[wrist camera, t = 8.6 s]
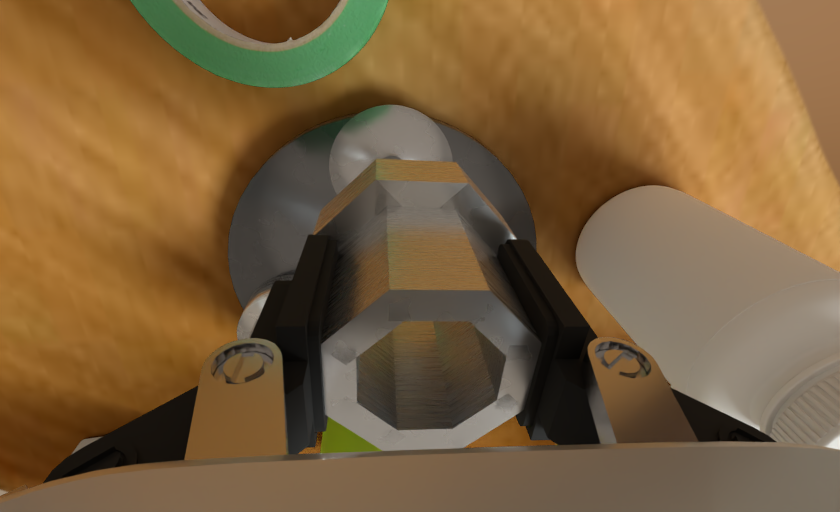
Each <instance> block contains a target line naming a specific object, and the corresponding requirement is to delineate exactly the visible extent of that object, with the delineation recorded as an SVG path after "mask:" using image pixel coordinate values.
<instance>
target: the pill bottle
mask: <svg viewBox="0 0 840 512" xmlns="http://www.w3.org/2000/svg"><path fill="white" fill-rule="evenodd" d="M576 264H577V268H578V271H579V274H580V276H581V278H582V279H583V281H584V282H585V284H586V286H587V287H588V288H589V289H590V290H591V292H592V293H593V294H594V295H595V296H596V297H597V299H598V300H599V301H600V302H601V303H602V304H603V306H604V307H605V308H606V309H607V310H608V312H609V313H610V314H611V315H612V316H613V317H614V319H615V320H616V321H617V322H618V323H619V324H620V326H621V327H622V328H623V329H624V330H625V331H626V333H627V334H628V335H629V336H630V337H631V338H632V340H633V341H634V342H635V343H636V344H637V345H638V346H639V347H640V348H642V349H644V350H645V351H646V352H647V353H649V354H650V355H651V356H652V357H653V358H654V360H655V361H656V362H657V364H658V366H659V368H660V369H661V371H662V373H663V375H664V377H665V378H666V379H667V381H668V382H669V383H670V384H671V385H672V387H673V388H674V389H675V390H677V391H679V392H681V393H683V394H685V395H687V396H689V397H692V398H694V399H696V400H698V401H700V402H702V403H704V404H706V405H708V406H710V407H712V408H714V409H717V410H719V411H721V412H723V413H725V414H727V415H729V416H731V417H733V418H735V419H737V420H739V421H742V422H744V423H746V424H748V425H750V426H752V427H754V428H756V429H758V430H759V431H761V432H763V433H765V434H766V435H768V436H770V437H771V438H772V439H774V440H775V441H776V442H784V443H795V444H806V445H817V446H823V447H828V448H834V449H839V450H840V272H838V271H836V270H834V269H832V268H830V267H828V266H826V265H824V264H822V263H820V262H818V261H816V260H815V259H813V258H811V257H809V256H807V255H805V254H803V253H801V252H799V251H797V250H795V249H793V248H791V247H789V246H787V245H785V244H783V243H781V242H779V241H778V240H776V239H774V238H772V237H770V236H768V235H766V234H764V233H762V232H760V231H758V230H756V229H754V228H752V227H750V226H748V225H746V224H744V223H742V222H741V221H739V220H737V219H735V218H733V217H731V216H729V215H727V214H725V213H723V212H721V211H719V210H717V209H715V208H713V207H711V206H709V205H707V204H705V203H704V202H702V201H700V200H698V199H696V198H694V197H692V196H690V195H688V194H686V193H684V192H682V191H679V190H676V189H673V188H670V187H666V186H658V185H649V186H641V187H637V188H633V189H630V190H627V191H625V192H622V193H620V194H618V195H616V196H615V197H613V198H611V199H610V200H609V201H607V202H606V203H605V204H603V205H602V206H601V207H600V208H599V209H598V210H597V211H596V212H595V213H594V214H593V215H592V216H591V217H590V219H589V220H588V222H587V223H586V225H585V226H584V228H583V230H582V232H581V234H580V236H579V239H578V243H577V247H576Z"/></svg>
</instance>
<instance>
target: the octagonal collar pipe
mask: <svg viewBox="0 0 840 512" xmlns="http://www.w3.org/2000/svg"><path fill="white" fill-rule="evenodd" d="M313 235H330V240H337V242H338V257H337V262H336V268H335V273H334V278H333V283H332V288H331V294H330V299H329V304H328V309H327V315H326V320H325V325H324V330H323V335H322V341H321V357H322V373H323V389H324V405H325V415H327V416H328V417H330V418H331V419H333V420H335V421H336V422H338V423H339V424H341V425H342V426H344V427H346V428H347V429H349V430H350V431H352V432H354V433H355V434H357V435H358V436H360V437H361V438H363V439H365V440H366V441H368V442H369V443H371V444H373V445H374V446H376V447H377V448H379V449H380V450H382V451H394V450H422V449H452V448H464V447H465V446H467V445H469V444H470V443H472V442H473V441H475V440H477V439H478V438H480V437H481V436H483V435H485V434H486V433H488V432H489V431H491V430H493V429H494V428H496V427H497V426H499V425H501V424H502V423H504V422H505V421H507V420H509V419H510V418H512V417H513V416H515V415H517V414H518V413H520V412H521V411H523V410H524V407H525V404H526V400H527V396H528V392H529V389H530V385H531V381H532V378H533V374H534V370H535V366H536V363H537V359H538V355H539V352H540V348H541V344H542V343H541V341H540V339H539V337H538V336H537V334H536V332H535V330H534V328H533V326H532V324H531V322H530V320H529V318H528V316H527V314H526V312H525V311H524V309H523V307H522V305H521V303H520V301H519V299H518V297H517V295H516V293H515V291H514V289H513V287H512V286H511V284H510V282H509V280H508V278H507V276H506V274H505V272H504V270H503V268H502V266H501V264H500V262H499V261H498V259H497V253H498V248H499V245H500V244H505V242H506V241H507V239H517V238H516V237H515V235H514V234H513V232H512V231H511V229H510V228H509V226H508V225H507V223H506V222H505V220H504V219H503V217H502V216H501V214H500V213H499V212H498V211H497V210H496V208H495V207H494V206H493V205H492V204H491V203H490V201H489V200H488V199H487V198H486V197H485V196H484V194H483V193H482V192H481V191H480V190H479V188H478V187H477V186H476V185H475V184H474V183H473V181H472V180H471V179H470V178H469V177H468V175H467V174H466V173H465V172H464V171H463V170H462V168H461V167H460V166H459V165H458V164H457V163H456V162H443V161H420V160H397V159H375V160H374V161H373V162H372V163H371V164H370V165H369V166H368V167H367V168H366V169H365V170H364V171H363V172H361V173H360V174H359V175H358V176H357V177H356V178H355V179H354V180H353V181H352V182H351V183H350V184H349V185H347V186H346V187H345V188H344V189H343V190H342V191H341V192H340V193H339V194H338V195H337V196H336V197H334V198H333V199H332V200H331V201H330V202H329V203H328V204H327V205H326V206H325V207H324V208H323V209H322V210H321V211H320V214H319V217H318V220H317V223H316V226H315V229H314V232H313Z"/></svg>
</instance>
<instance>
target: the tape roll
mask: <svg viewBox="0 0 840 512" xmlns="http://www.w3.org/2000/svg"><path fill="white" fill-rule="evenodd" d="M130 1H131V2H132V4H133V5H134V6H135V8H136V9H137V11H138V12H139V13H140V14H141V15H142V17H143V18H144V19H145V20H146V21H147V23H148V24H149V25H150V26H151V27H152V28H153V29H154V30H155V31H156V32H157V33H158V34H159V35H160V36H161V37H162V38H163V39H164V40H165V41H166V42H167V43H168V44H170V45H171V46H172V47H173V48H174V49H176V50H177V51H178V52H179V53H181V54H182V55H183V56H185V57H186V58H188V59H189V60H191V61H192V62H194V63H195V64H197V65H199V66H200V67H202V68H204V69H206V70H208V71H210V72H212V73H213V74H215V75H217V76H220V77H223V78H226V79H228V80H231V81H235V82H238V83H241V84H246V85H251V86H257V87H269V88H281V87H292V86H298V85H302V84H306V83H309V82H313V81H316V80H318V79H320V78H322V77H325V76H327V75H329V74H331V73H332V72H334V71H336V70H337V69H339V68H340V67H342V66H343V65H345V64H346V63H347V62H349V61H350V60H351V59H352V58H353V57H354V56H355V55H356V54H357V53H358V52H359V51H360V50H361V49H362V48H363V47H364V46H365V45H366V43H367V42H368V41H369V39H370V38H371V36H372V35H373V33H374V32H375V30H376V28H377V26H378V24H379V22H380V20H381V18H382V16H383V14H384V12H385V9H386V6H387V3H388V0H340V2H339V3H338V5H337V7H336V8H335V9H334V11H333V12H332V14H331V15H330V17H329V18H328V19H327V20H326V21H325V22H324V23H323V24H322V25H320V26H319V27H318V28H316V29H315V30H313V31H312V32H311V33H309V34H307V35H305V36H303V37H301V38H299V39H297V40H292V38H291V37H290V38H289V40H288V41H287V42H283V43H276V44H272V43H266V42H261V41H257V40H254V39H251V38H249V37H246V36H244V35H242V34H240V33H238V32H236V31H235V30H233V29H231V28H230V27H228V26H227V25H225V24H224V23H223V22H222V21H220V20H219V19H218V18H217V17H216V16H215V15H214V14H212V13H211V12H210V11H209V10H208V9H207V8H206V7H205V5H204V4H203V3H202V2H201V1H200V0H130Z"/></svg>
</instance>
